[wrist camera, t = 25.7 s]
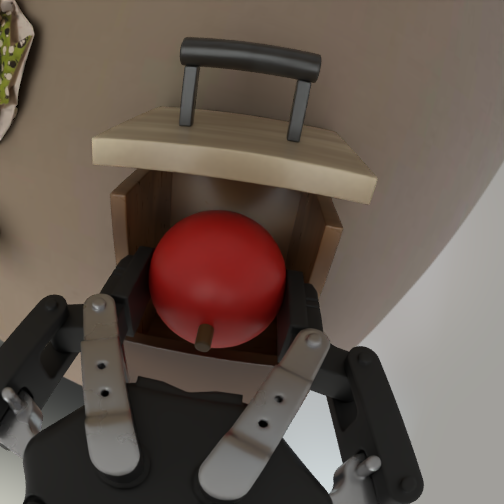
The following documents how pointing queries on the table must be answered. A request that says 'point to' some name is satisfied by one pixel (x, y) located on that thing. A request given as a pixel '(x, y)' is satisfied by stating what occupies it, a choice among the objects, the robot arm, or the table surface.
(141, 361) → the cabinet
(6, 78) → the bear figurine
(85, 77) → the table surface
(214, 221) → the apple
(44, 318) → the robot arm
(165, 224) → the drawer
